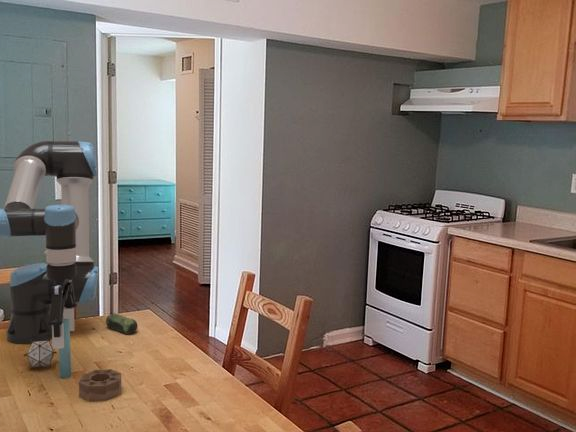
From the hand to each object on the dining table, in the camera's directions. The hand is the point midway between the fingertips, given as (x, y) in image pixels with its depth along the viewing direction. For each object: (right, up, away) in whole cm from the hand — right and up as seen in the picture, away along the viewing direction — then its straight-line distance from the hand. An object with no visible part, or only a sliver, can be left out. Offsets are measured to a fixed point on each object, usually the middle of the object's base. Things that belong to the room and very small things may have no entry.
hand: (64, 339), depth 155 cm
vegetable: (+4, -6, +39) cm, 39 cm away
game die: (-9, -10, +7) cm, 16 cm away
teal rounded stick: (0, -11, +2) cm, 11 cm away
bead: (+12, -12, -7) cm, 19 cm away
